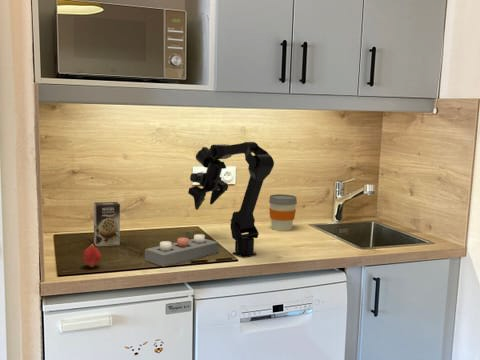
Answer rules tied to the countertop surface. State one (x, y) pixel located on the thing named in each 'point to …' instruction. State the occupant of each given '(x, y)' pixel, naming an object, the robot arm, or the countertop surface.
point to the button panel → (180, 252)
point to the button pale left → (165, 246)
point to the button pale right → (199, 238)
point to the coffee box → (106, 223)
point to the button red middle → (182, 242)
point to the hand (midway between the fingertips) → (203, 206)
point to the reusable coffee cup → (282, 211)
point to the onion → (91, 256)
